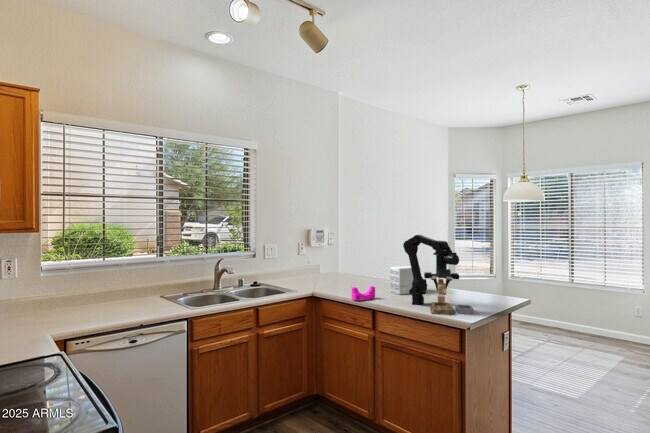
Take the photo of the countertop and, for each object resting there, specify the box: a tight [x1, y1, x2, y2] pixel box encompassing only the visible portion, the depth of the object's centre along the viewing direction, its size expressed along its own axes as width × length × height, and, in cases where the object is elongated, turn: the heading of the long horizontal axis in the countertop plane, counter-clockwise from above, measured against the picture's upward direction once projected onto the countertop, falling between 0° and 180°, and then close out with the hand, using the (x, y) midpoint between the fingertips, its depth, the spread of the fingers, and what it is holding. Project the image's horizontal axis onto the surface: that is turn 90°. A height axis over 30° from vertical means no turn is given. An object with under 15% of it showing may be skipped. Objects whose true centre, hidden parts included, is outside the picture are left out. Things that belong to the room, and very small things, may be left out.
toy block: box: [351, 285, 376, 302], centre depth 253 cm, size 15×6×8 cm, turn 107°
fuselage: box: [436, 278, 447, 296], centre depth 220 cm, size 4×12×7 cm, turn 168°
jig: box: [429, 301, 455, 316], centre depth 220 cm, size 12×20×2 cm, turn 167°
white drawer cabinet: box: [389, 264, 413, 296], centre depth 275 cm, size 17×13×18 cm
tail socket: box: [454, 304, 474, 315], centre depth 216 cm, size 8×8×3 cm
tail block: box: [437, 294, 446, 303], centre depth 236 cm, size 4×4×5 cm
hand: (441, 290), depth 220 cm, fingers closed on fuselage, 4 cm apart
